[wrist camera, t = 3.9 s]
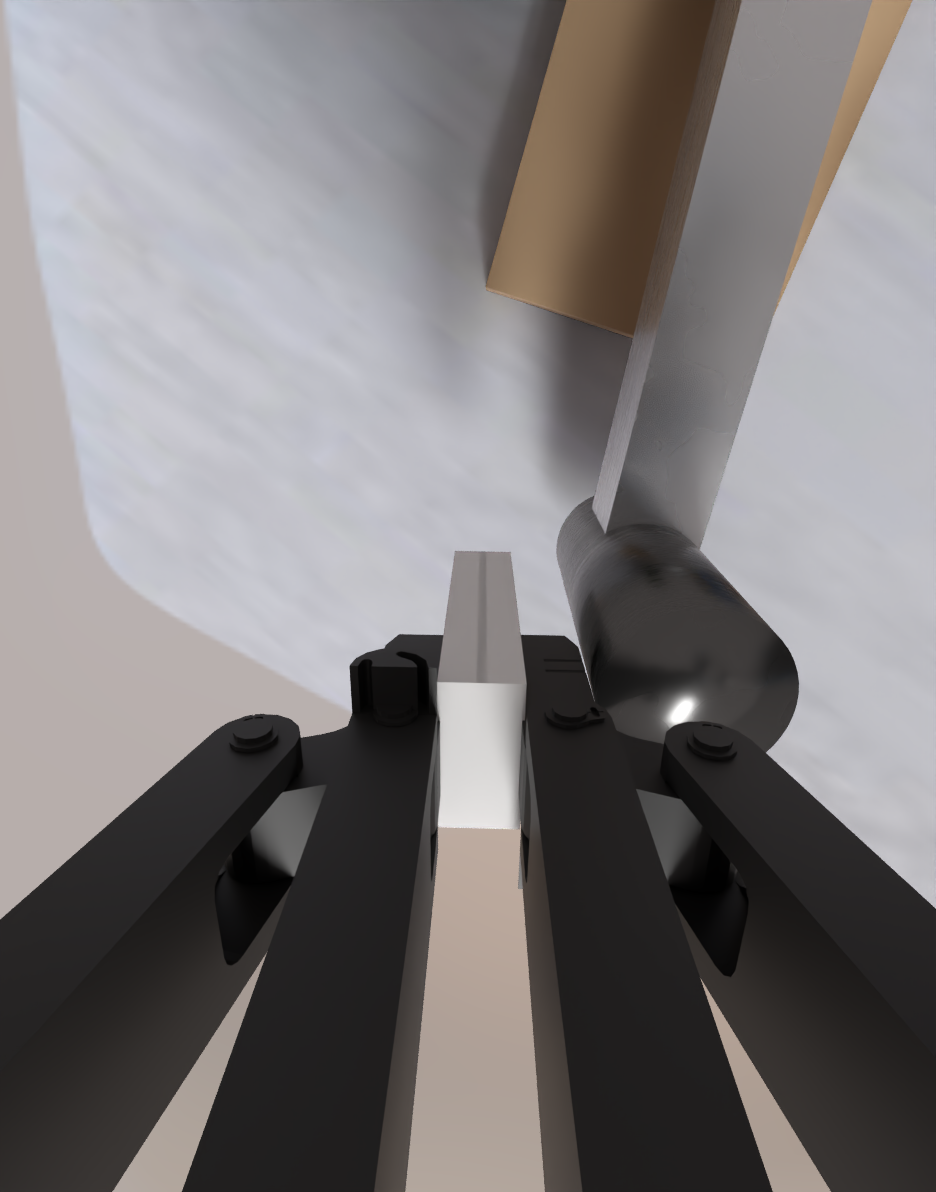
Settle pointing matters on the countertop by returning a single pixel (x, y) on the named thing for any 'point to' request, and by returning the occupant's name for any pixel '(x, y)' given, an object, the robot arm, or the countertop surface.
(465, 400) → the countertop surface
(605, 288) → the press bench
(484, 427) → the countertop surface
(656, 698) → the lever
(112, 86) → the countertop surface
